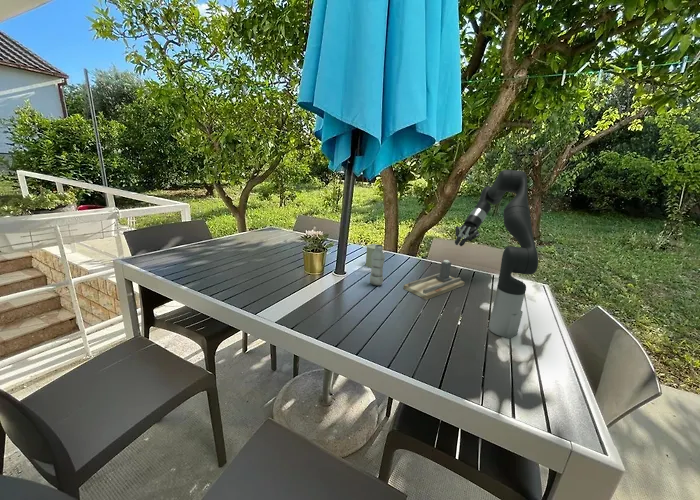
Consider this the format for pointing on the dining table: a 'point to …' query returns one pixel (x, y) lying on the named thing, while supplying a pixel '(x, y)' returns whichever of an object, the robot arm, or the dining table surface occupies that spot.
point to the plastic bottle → (377, 265)
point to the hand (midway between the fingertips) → (458, 244)
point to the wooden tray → (432, 286)
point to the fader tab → (444, 271)
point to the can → (369, 254)
